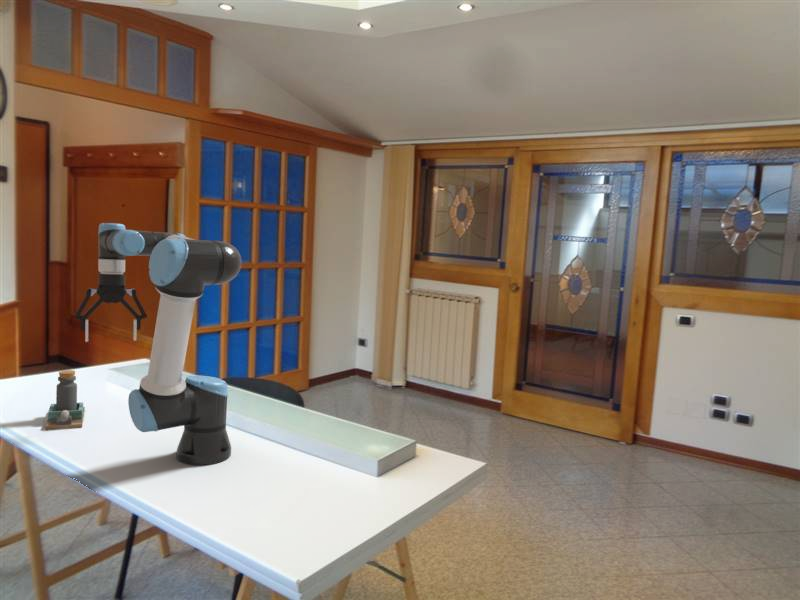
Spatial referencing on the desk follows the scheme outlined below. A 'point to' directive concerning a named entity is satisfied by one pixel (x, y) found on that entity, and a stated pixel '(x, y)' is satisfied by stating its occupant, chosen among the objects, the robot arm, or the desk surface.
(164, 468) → the desk surface
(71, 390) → the bottle
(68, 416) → the block
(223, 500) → the desk surface
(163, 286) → the robot arm
